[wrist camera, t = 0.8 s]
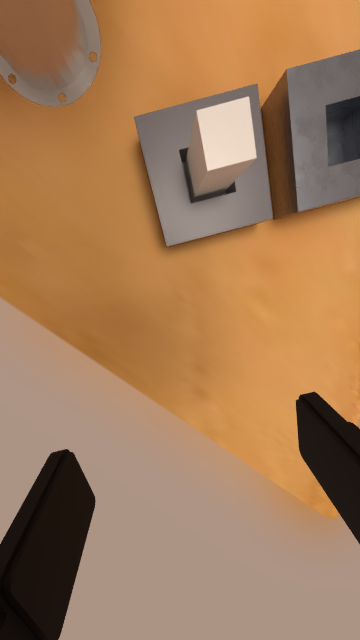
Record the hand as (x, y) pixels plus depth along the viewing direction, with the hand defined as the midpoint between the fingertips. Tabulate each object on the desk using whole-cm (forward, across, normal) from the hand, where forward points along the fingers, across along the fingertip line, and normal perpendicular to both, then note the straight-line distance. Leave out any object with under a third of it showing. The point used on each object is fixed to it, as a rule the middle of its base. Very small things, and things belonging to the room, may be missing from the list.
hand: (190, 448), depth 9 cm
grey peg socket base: (+26, -8, -15) cm, 31 cm away
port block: (+26, -23, -15) cm, 38 cm away
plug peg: (+25, -8, -15) cm, 30 cm away
